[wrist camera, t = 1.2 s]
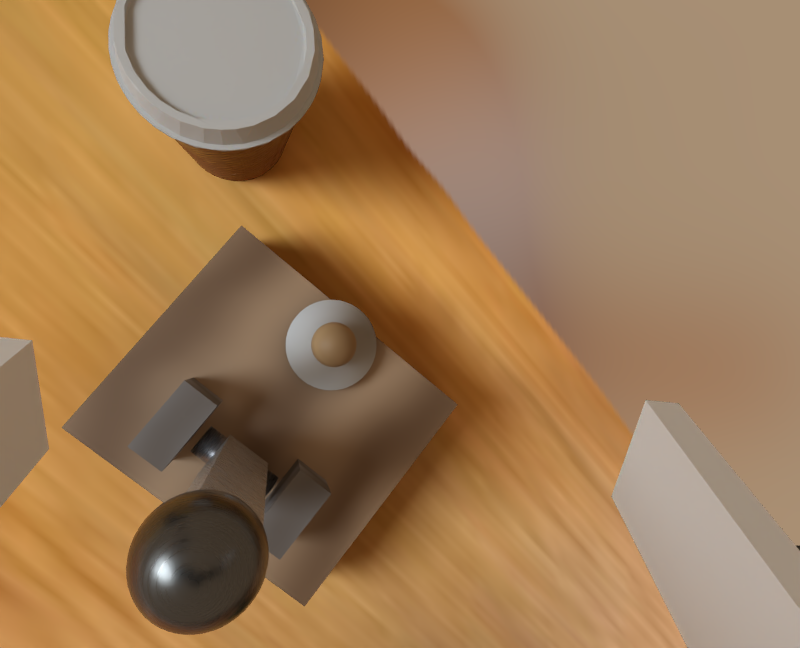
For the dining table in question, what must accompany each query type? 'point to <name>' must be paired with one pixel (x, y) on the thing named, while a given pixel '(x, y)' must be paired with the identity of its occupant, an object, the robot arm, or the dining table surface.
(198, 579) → the lever
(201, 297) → the base
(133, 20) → the disposable coffee cup
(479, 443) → the dining table surface
